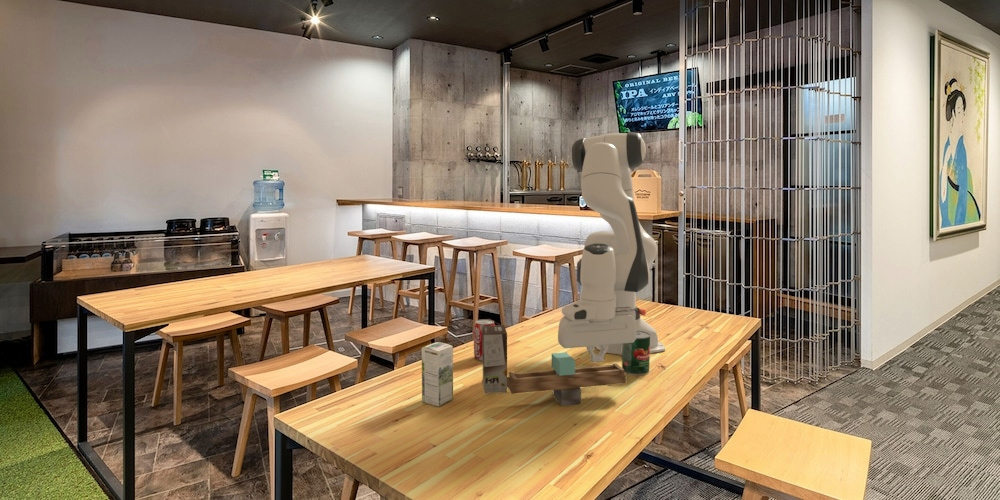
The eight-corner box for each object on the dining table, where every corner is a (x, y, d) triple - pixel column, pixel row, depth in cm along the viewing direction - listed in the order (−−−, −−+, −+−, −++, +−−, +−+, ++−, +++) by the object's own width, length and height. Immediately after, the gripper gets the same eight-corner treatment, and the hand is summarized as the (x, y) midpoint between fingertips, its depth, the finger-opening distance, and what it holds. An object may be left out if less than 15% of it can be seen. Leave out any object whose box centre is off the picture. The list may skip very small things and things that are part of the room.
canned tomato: (644, 376, 152) (645, 339, 151) (617, 372, 157) (618, 335, 155) (652, 368, 159) (653, 332, 158) (626, 364, 163) (627, 329, 162)
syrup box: (436, 394, 140) (435, 341, 139) (454, 399, 137) (453, 344, 135) (421, 402, 136) (420, 346, 134) (439, 407, 132) (438, 350, 131)
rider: (566, 370, 139) (566, 352, 138) (574, 379, 133) (575, 360, 132) (551, 372, 138) (551, 353, 138) (559, 380, 132) (559, 361, 131)
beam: (615, 389, 143) (616, 362, 142) (627, 399, 136) (628, 370, 135) (506, 400, 137) (506, 371, 136) (512, 411, 130) (512, 381, 129)
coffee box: (508, 392, 141) (507, 333, 139) (483, 393, 141) (483, 334, 139) (504, 380, 150) (504, 324, 149) (482, 381, 150) (481, 325, 148)
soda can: (493, 362, 165) (493, 324, 164) (471, 361, 167) (471, 323, 165) (498, 355, 172) (498, 319, 171) (476, 354, 174) (476, 318, 172)
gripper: (630, 303, 141) (629, 354, 143) (555, 308, 136) (555, 360, 138) (641, 308, 135) (640, 362, 136) (564, 314, 130) (564, 369, 132)
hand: (597, 361), depth 137 cm, fingers closed
